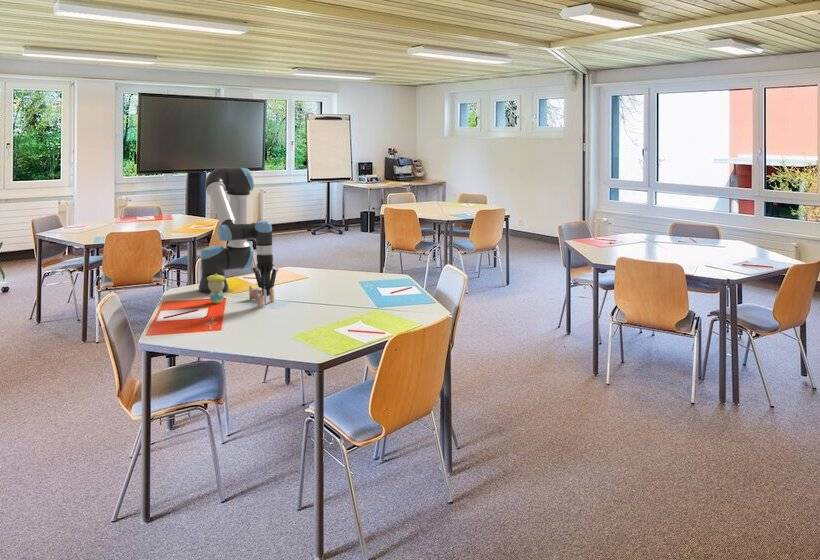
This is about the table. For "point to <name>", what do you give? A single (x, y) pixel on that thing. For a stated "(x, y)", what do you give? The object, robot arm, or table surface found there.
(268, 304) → the card
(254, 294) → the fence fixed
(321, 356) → the table surface
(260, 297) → the fence wing
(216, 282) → the toy
